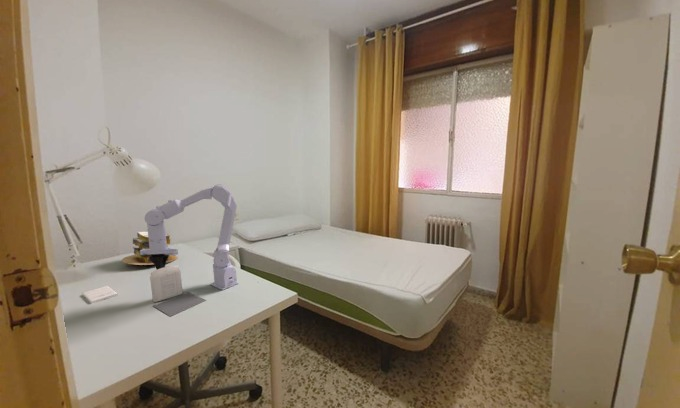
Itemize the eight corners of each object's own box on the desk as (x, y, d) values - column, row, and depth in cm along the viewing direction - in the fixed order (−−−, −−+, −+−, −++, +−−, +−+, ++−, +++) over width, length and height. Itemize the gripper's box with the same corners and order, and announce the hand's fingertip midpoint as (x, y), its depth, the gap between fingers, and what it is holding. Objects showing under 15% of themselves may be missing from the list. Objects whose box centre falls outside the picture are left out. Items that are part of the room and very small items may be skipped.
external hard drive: (108, 289, 114) (118, 296, 107) (82, 296, 107) (91, 305, 100) (107, 285, 114) (117, 293, 107) (82, 292, 107) (90, 301, 100)
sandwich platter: (173, 251, 163) (171, 225, 160) (181, 262, 144) (178, 232, 142) (122, 260, 147) (118, 231, 145) (123, 274, 128) (118, 241, 126)
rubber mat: (206, 300, 102) (206, 299, 102) (170, 316, 91) (170, 316, 91) (188, 292, 109) (188, 291, 109) (153, 306, 98) (153, 305, 98)
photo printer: (181, 290, 110) (178, 262, 108) (184, 294, 107) (180, 265, 105) (152, 299, 103) (147, 269, 101) (154, 303, 100) (149, 272, 98)
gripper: (181, 236, 107) (184, 268, 109) (148, 236, 108) (152, 267, 110) (169, 241, 100) (172, 275, 102) (133, 241, 101) (138, 274, 103)
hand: (161, 271), depth 106 cm, fingers closed
